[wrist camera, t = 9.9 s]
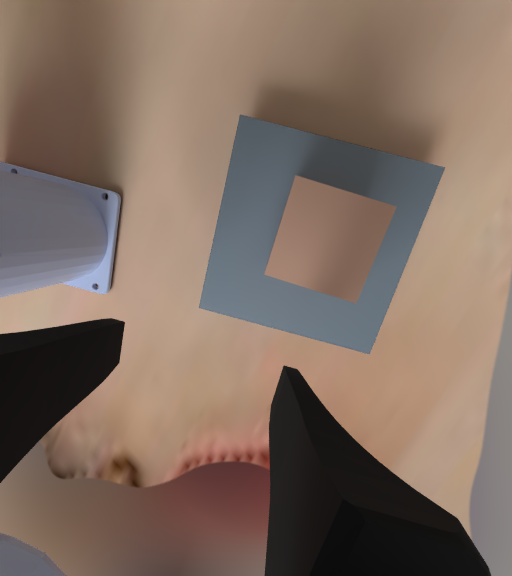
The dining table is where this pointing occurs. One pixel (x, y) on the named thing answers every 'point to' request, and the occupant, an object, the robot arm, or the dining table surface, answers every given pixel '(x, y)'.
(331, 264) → the pale pink cube
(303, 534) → the robot arm
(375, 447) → the dining table surface
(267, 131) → the base board
